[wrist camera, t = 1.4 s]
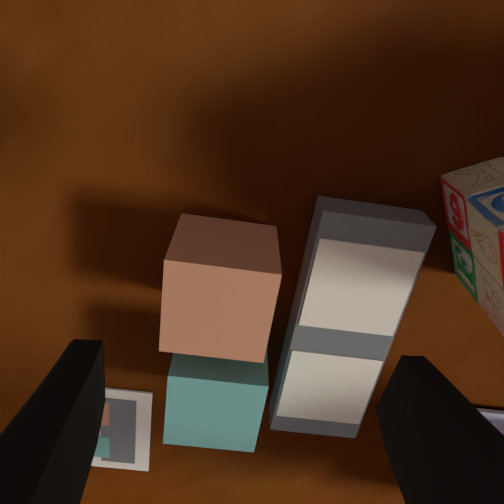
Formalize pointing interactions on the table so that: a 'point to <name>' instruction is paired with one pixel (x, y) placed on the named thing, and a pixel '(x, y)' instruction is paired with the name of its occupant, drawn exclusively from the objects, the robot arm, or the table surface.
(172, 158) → the table surface
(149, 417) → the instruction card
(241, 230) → the salmon orange cube
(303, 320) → the base plate
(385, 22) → the table surface
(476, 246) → the stack of blocks
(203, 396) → the teal cube
